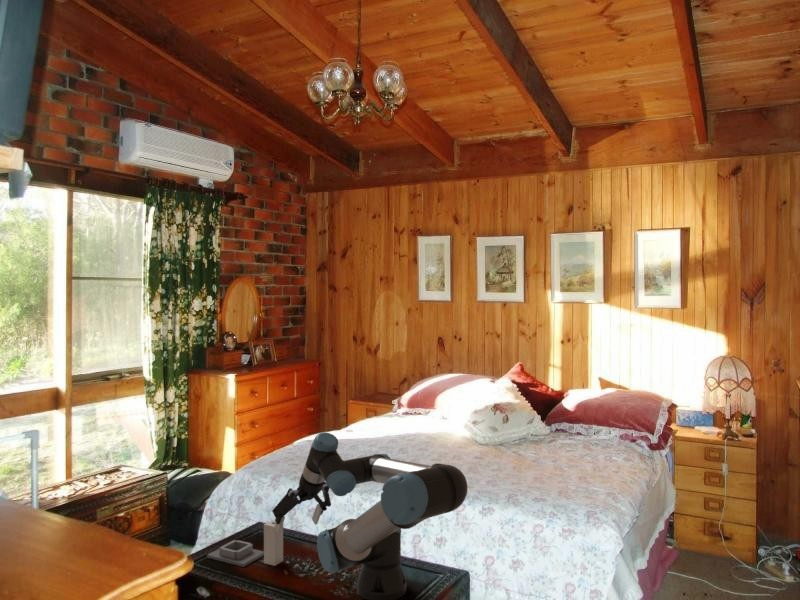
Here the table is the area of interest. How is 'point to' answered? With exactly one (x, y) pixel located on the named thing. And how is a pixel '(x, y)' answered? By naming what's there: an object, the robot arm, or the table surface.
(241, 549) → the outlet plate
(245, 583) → the table surface
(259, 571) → the table surface
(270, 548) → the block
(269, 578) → the table surface
